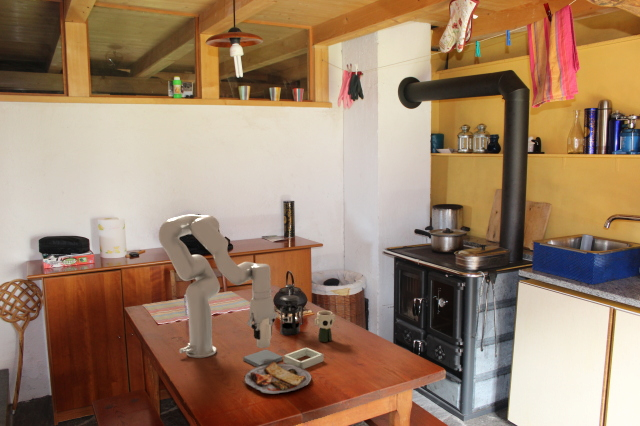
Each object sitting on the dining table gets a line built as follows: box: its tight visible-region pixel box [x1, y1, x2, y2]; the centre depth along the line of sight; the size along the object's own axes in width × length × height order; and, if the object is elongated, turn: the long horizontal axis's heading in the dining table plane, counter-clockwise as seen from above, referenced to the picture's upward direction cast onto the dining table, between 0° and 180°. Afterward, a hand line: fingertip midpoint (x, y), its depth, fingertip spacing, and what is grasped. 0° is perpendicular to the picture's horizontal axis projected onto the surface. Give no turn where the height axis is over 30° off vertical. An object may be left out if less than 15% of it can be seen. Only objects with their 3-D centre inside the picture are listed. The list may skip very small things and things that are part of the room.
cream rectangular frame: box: [283, 347, 324, 370], centre depth 227 cm, size 12×10×3 cm
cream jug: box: [256, 318, 272, 349], centre depth 226 cm, size 8×6×12 cm
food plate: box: [243, 362, 312, 395], centre depth 209 cm, size 25×23×4 cm
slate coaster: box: [242, 348, 284, 368], centre depth 229 cm, size 12×11×2 cm
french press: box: [279, 284, 304, 337], centre depth 260 cm, size 12×9×23 cm
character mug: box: [314, 310, 336, 343], centre depth 250 cm, size 11×7×13 cm, turn 121°
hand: (263, 336), depth 227 cm, fingers closed on cream jug, 5 cm apart
